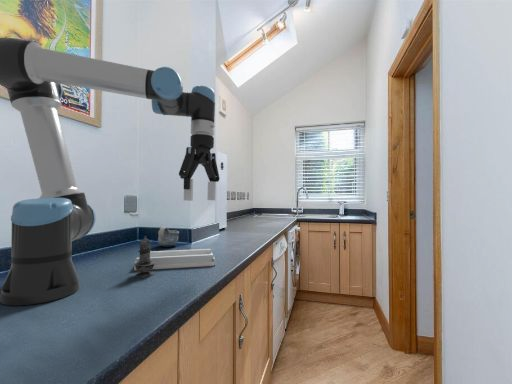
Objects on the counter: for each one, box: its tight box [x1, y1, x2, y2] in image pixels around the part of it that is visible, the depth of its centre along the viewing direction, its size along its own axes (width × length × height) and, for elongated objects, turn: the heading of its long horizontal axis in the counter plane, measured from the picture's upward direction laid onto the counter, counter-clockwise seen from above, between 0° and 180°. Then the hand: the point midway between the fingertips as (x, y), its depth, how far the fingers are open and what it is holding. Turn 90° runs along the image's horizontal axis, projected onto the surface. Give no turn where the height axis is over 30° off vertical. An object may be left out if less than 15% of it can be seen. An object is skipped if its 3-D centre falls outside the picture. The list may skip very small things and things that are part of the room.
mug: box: [157, 225, 180, 248], centre depth 128 cm, size 10×12×10 cm
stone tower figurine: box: [133, 235, 155, 278], centre depth 83 cm, size 6×6×12 cm
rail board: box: [133, 248, 216, 271], centre depth 97 cm, size 26×12×4 cm, turn 105°
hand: (200, 200), depth 89 cm, fingers open, 13 cm apart
